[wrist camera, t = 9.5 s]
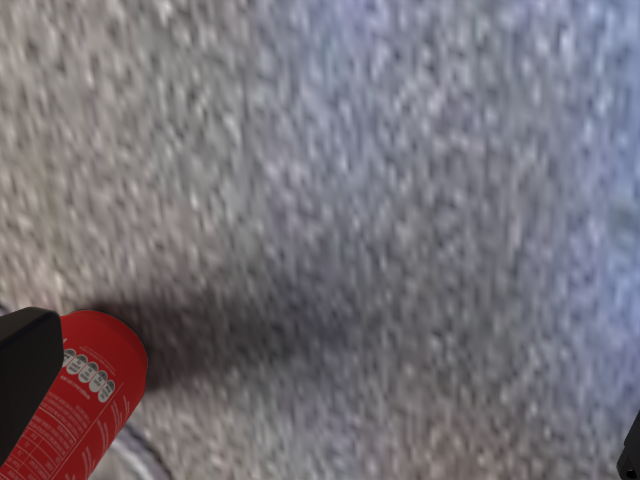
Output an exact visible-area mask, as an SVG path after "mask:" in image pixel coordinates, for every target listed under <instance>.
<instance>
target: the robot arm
mask: <svg viewBox="0 0 640 480" xmlns="http://www.w3.org/2000/svg"><path fill="white" fill-rule="evenodd" d="M63 362H64V345H63V335H62V325H61V319H60V316H59V314H58V313H57V312H55V311H53V310H48V309H43V308H38V307H27V308H24V309H21V310H18V311H15V312H12V313H9V314H6V315H3V316H0V468H1V467H2V466H3V464H4V463H5V461H6V460H7V459H8V457H9V455H10V454H11V452H12V451H13V449H14V448H15V446H16V444H17V443H18V441H19V440H20V438H21V436H22V434H23V433H24V431H25V429H26V428H27V426H28V424H29V423H30V421H31V419H32V418H33V416H34V414H35V413H36V411H37V409H38V408H39V406H40V404H41V403H42V401H43V399H44V398H45V396H46V394H47V393H48V391H49V389H50V388H51V386H52V384H53V383H54V381H55V379H56V378H57V376H58V374H59V372H60V371H61V368H62V366H63ZM624 446H625V448H624V450H623V452H622V454H621V456H620V458H619V460H618V462H617V466H616V467H617V470H618V473H619V475H620V478H621V479H622V480H640V411H639V413H638V415H637V417H636V419H635V421H634V423H633V425H632V427H631V429H630V431H629V433H628V435H627V437H626V439H625V441H624ZM631 469H634V470H632V471H628V470H631Z"/></svg>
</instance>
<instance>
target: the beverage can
mask: <svg viewBox="0 0 640 480" xmlns="http://www.w3.org/2000/svg"><path fill="white" fill-rule="evenodd" d="M60 319H61V325H62V335H63V345H64V362H63V366H62V368H61V371H60V372H59V374H58V376H57V378H56V379H55V381H54V383H53V384H52V386H51V388H50V389H49V391H48V393H47V394H46V396H45V398H44V399H43V401H42V403H41V404H40V406H39V408H38V409H37V411H36V413H35V414H34V416H33V418H32V419H31V421H30V423H29V424H28V426H27V428H26V429H25V431H24V433H23V434H22V436H21V438H20V440H19V441H18V443H17V444H16V446H15V448H14V449H13V451H12V452H11V454H10V455H9V457H8V459H7V460H6V461H5V463H4V464H3V466H2V467H1V468H0V480H88V478H89V477H90V475H91V474H92V472H93V471H94V469H95V468H96V466H97V465H98V463H99V462H100V460H101V459H102V457H103V456H104V454H105V453H106V451H107V450H108V448H109V447H110V445H111V444H112V442H113V441H114V439H115V438H116V436H117V435H118V433H119V432H120V430H121V429H122V427H123V426H124V424H125V423H126V421H127V420H128V418H129V417H130V415H131V414H132V412H133V411H134V409H135V408H136V406H137V405H138V403H139V402H140V400H141V399H142V397H143V394H144V391H145V386H146V374H147V371H148V355H147V352H146V349H145V346H144V344H143V343H142V341H141V339H140V338H139V336H138V335H137V334H136V333H135V332H134V330H133V329H132V328H130V327H129V326H128V325H127V324H126V323H124V322H123V321H121V320H120V319H118V318H117V317H115V316H113V315H110V314H108V313H105V312H102V311H97V310H78V311H74V312H71V313H69V314H67V315H65V316H60Z"/></svg>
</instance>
